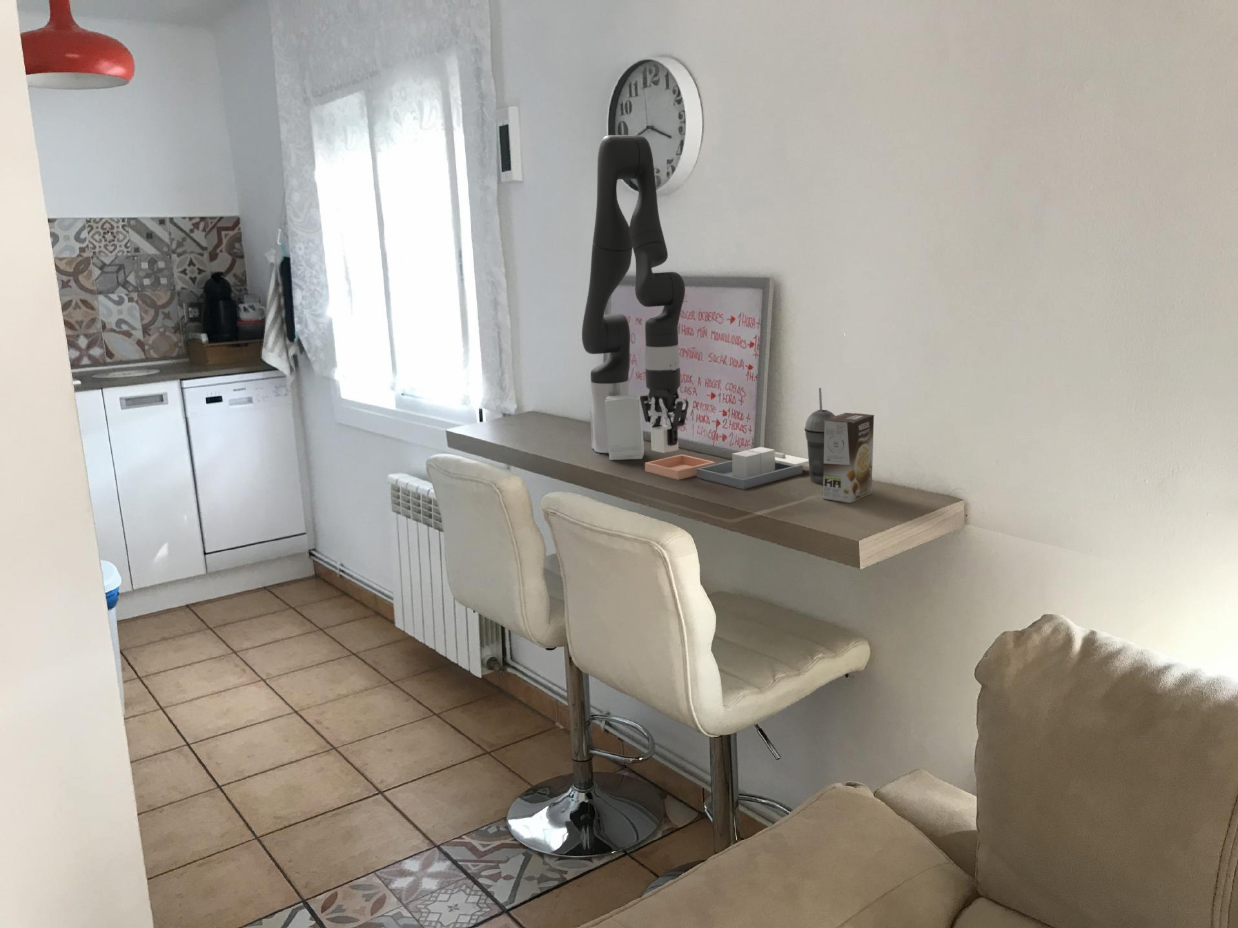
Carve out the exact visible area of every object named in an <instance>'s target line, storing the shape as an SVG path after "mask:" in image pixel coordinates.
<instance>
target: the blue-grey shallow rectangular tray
mask: <svg viewBox="0 0 1238 928" xmlns="http://www.w3.org/2000/svg"><path fill="white" fill-rule="evenodd" d="M805 465H809V459H808V458H803V457H798V456H794V455H789V454H786V453H783V452H779V451H778V452H777V451H775V471H773V472H769V473H765V474H761V475H757V476H753V477H750V478H746V479H742V478H737V477H733V476H732V460H728V461H723V462H720V463H715V465H710V466H706V467H702V468H698V469H697V475H696V478H697V479H701V480H705V481H709V482H712V483H716V484H721V485H725V486H728V487H733V488H736V489H740V490H746V489H751V488H754V487H758V486H761V485H765V484H769V483H772V482H773V483H774V482H776V481H780V480H784V479H787V478H790V477H795V476H797V475H803V466H805Z"/></svg>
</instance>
